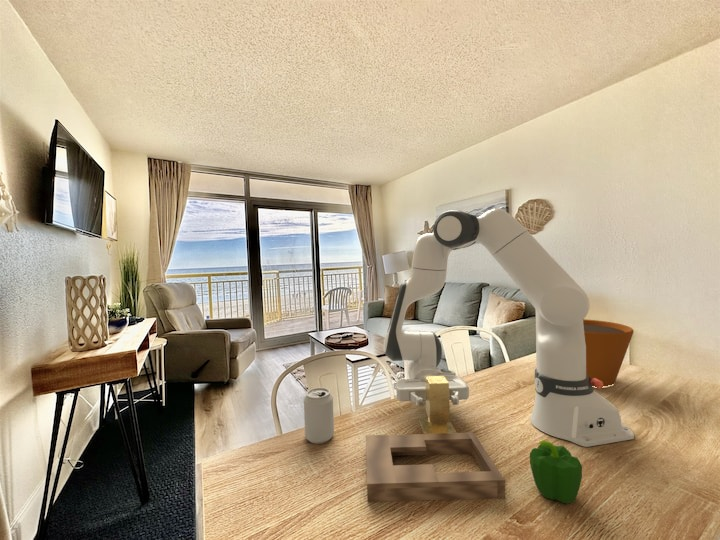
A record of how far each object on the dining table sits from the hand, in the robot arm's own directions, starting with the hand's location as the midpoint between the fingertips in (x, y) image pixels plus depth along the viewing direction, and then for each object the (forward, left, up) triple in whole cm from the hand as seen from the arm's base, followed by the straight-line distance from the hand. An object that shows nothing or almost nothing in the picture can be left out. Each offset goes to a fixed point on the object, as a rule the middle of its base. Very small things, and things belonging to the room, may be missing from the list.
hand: (437, 402), depth 80 cm
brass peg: (0, 0, -8) cm, 8 cm away
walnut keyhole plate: (+6, +14, -8) cm, 18 cm away
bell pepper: (-17, +22, -8) cm, 29 cm away
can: (+31, 0, -8) cm, 32 cm away
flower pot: (-62, -30, -8) cm, 70 cm away
